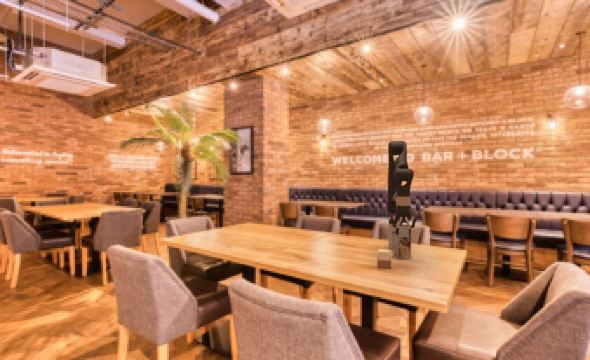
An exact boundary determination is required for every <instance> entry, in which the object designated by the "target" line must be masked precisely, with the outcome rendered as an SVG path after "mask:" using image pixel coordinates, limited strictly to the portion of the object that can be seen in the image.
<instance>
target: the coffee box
mask: <svg viewBox="0 0 590 360" xmlns="http://www.w3.org/2000/svg"><path fill="white" fill-rule="evenodd" d="M391 250H392V258H394V259H396V260H398V261H399V260H408V259H412V233H411V234H410V235H409V237H399V236H398V235H397V234H396V231H393V232H392V249H391Z"/></svg>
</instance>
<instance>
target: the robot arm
mask: <svg viewBox="0 0 590 360" xmlns="http://www.w3.org/2000/svg"><path fill="white" fill-rule="evenodd" d="M407 146H408V145H407V143H406V141H404V140H390V141H389V142H388V147H387V152H388V153H387V155H388V156H387V157H388V168H387V195H386V196H387V197H386V212H387V213H388V214H390V215H391V216H390V218H389V219H388V250H392V232H393V231H396V234H397V235H399V225H404V224H406V225H408V226H409V235H410V234H411V235H412V233H411V231H412V230H411V229H414V228H415V226H416V223H417V220H418V219H417V217H416V216H412V214H411V212H412V211H411V209H412V208H411V205H412V201H411V187H412V186H411V185H412V183H413V180H414V175H415V172H414V170H413V169H411V168H409V164H408V148H407ZM394 156H397V157H396V158H395V159H394ZM403 182H406V183H405V184H403ZM395 195H396V198H395V199H396V200H393V198H394V196H395ZM392 214H393V216H392ZM410 220H411V223H412V224H410ZM403 223H404V224H403Z"/></svg>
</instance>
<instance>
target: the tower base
mask: <svg viewBox="0 0 590 360" xmlns="http://www.w3.org/2000/svg"><path fill="white" fill-rule="evenodd" d="M376 260H377V269H384V270H385V269H386V270H392V259H391V257H390V261H385V260H378V256H377V259H376Z"/></svg>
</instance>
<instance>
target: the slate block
mask: <svg viewBox="0 0 590 360" xmlns="http://www.w3.org/2000/svg"><path fill="white" fill-rule="evenodd" d="M398 236H399V237H409V226H408V225H407V224H403V225H399V235H398Z"/></svg>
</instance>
